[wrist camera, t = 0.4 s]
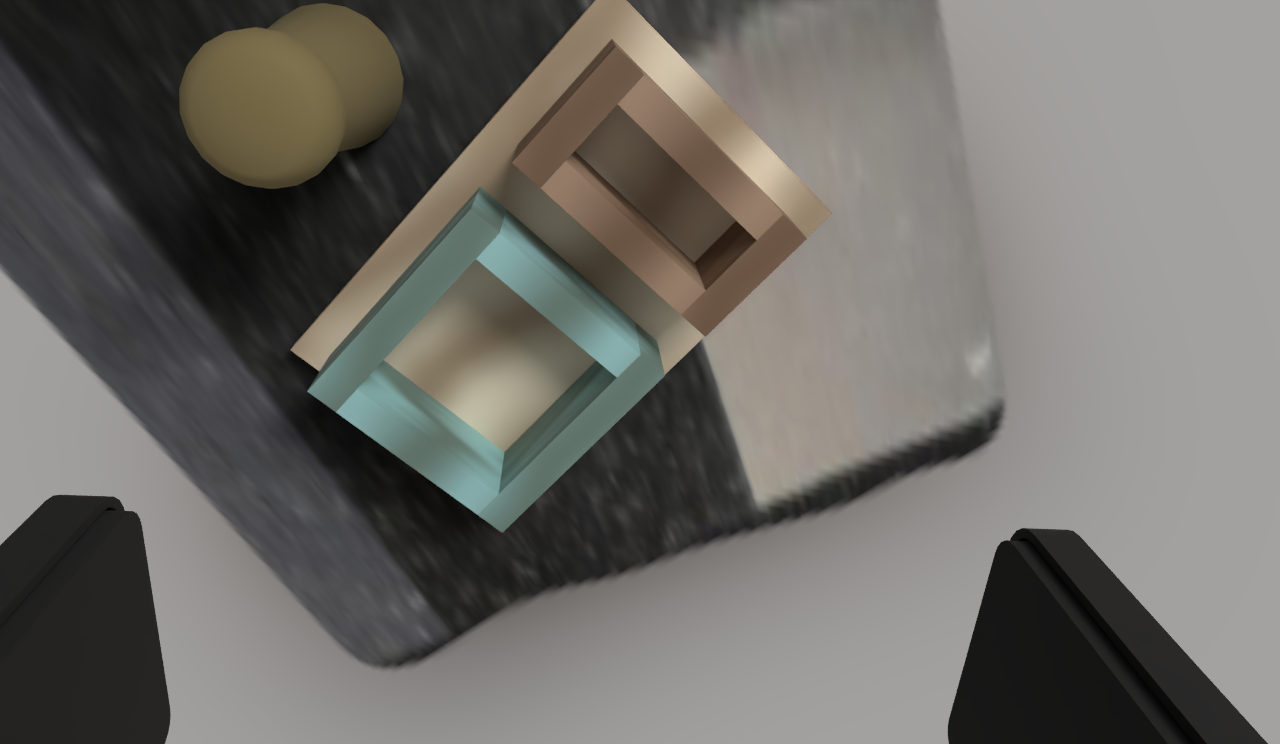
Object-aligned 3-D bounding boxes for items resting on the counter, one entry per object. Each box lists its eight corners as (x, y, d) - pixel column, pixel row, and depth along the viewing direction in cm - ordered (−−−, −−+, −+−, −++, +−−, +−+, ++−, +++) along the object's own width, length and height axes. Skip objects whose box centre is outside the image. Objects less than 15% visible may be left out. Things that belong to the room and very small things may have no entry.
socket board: (296, 342, 44) (263, 385, 39) (609, -17, 38) (614, -15, 34) (518, 506, 48) (512, 563, 44) (826, 207, 43) (856, 236, 38)
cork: (335, -29, 37) (248, -27, 27) (432, 95, 40) (384, 140, 30) (228, 61, 38) (105, 95, 28) (328, 177, 41) (247, 246, 31)
